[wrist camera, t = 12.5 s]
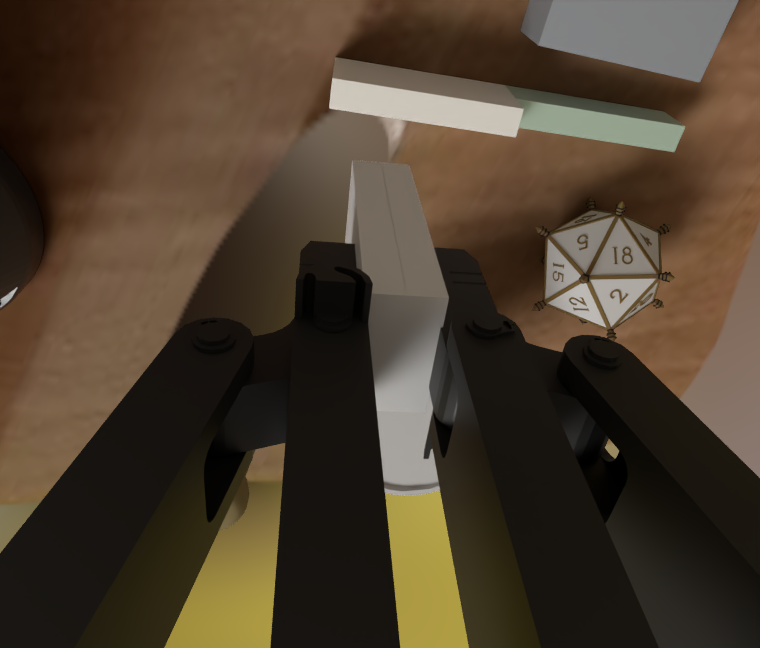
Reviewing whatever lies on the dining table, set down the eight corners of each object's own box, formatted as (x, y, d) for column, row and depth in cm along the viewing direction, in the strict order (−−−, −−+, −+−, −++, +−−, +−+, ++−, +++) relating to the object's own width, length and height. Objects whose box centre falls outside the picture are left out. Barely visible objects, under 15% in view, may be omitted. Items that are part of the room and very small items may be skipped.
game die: (586, 195, 45) (726, 198, 37) (580, 311, 47) (711, 339, 39) (494, 199, 40) (631, 204, 32) (491, 328, 42) (619, 364, 34)
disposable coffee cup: (483, 350, 48) (516, 469, 38) (371, 394, 50) (375, 518, 40) (432, 251, 43) (456, 358, 33) (311, 306, 45) (299, 421, 35)
